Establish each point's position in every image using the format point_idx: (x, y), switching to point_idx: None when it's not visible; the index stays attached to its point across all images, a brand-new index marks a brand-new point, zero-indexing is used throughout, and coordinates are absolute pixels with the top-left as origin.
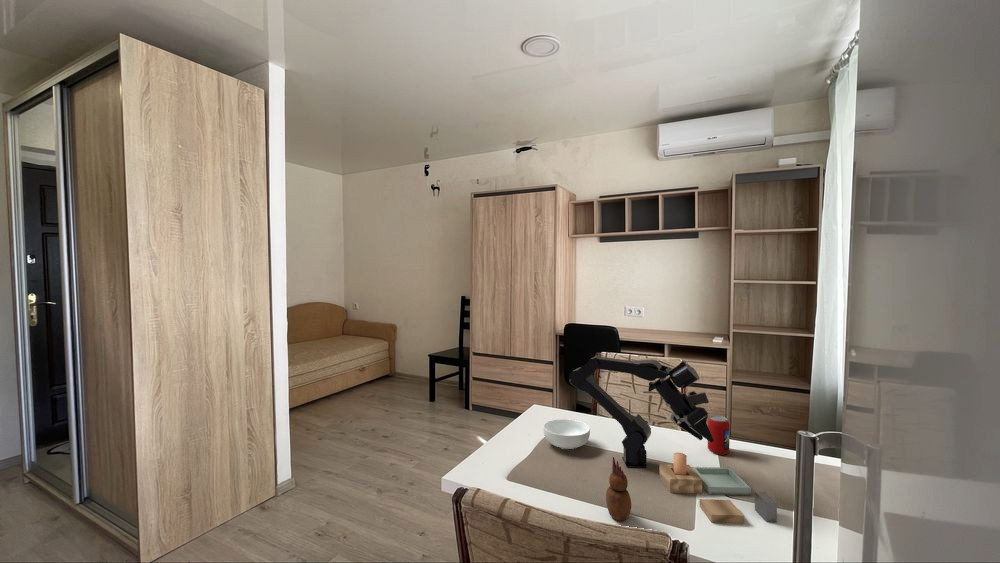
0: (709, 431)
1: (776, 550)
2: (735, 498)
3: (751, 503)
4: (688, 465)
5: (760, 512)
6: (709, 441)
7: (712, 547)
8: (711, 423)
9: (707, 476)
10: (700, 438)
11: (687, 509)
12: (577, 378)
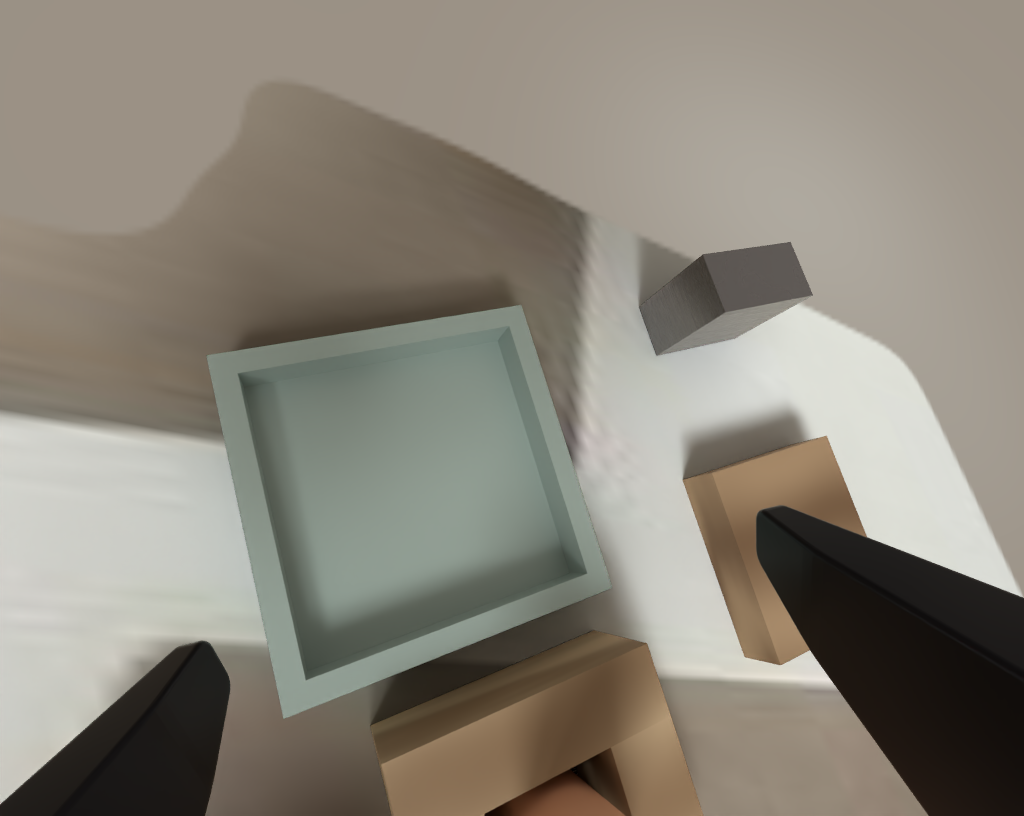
0: (983, 594)
1: (896, 370)
2: (573, 424)
3: (595, 351)
4: (406, 772)
5: (709, 340)
6: (779, 584)
7: None
8: None
9: (345, 567)
10: (212, 692)
11: (802, 732)
12: None
